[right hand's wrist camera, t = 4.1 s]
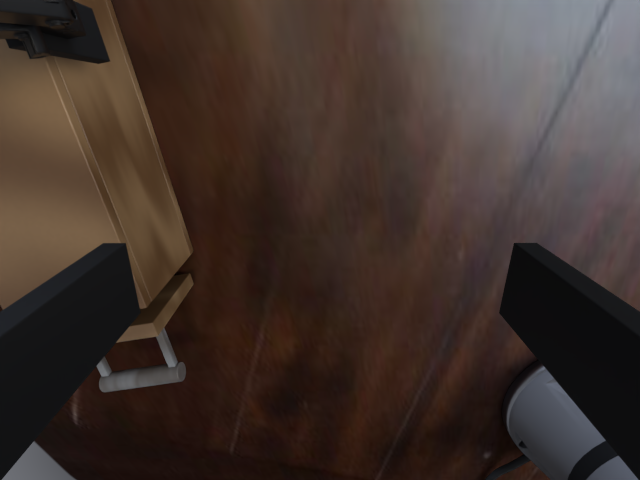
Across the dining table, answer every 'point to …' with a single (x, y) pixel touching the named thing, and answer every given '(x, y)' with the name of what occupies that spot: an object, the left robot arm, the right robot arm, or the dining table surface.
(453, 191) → the dining table surface
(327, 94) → the dining table surface
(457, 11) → the dining table surface
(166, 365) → the drawer
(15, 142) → the cabinet
